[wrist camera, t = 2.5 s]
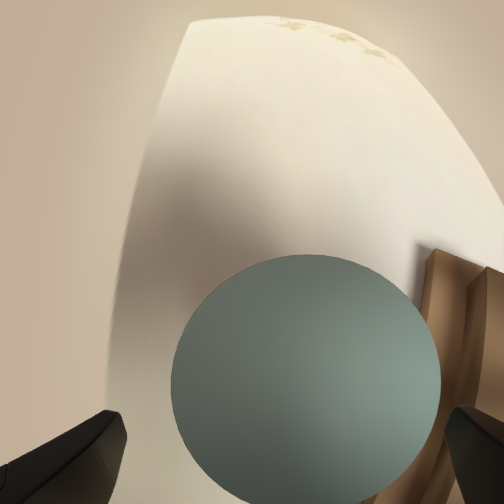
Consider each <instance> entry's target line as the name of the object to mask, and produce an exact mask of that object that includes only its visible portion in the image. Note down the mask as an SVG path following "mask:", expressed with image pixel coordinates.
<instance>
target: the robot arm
mask: <svg viewBox="0 0 504 504" xmlns="http://www.w3.org/2000/svg"><path fill="white" fill-rule="evenodd" d="M444 435H445V439H446V442H447V446H448V450H449V454H450V458H451V462H452V466H453V470H454V473H455V477H456V480H457V483H458V485H459V488H460V491H461V494H462V497H463V500H464V503H465V504H504V422H502V421H500V420H498V419H496V418H494V417H492V416H490V415H488V414H486V413H484V412H482V411H480V410H478V409H476V408H474V407H472V406H471V405H469V404H462V405H458V406H455V407H454V408H453V410H452V412H451V414H450V416H449V419H448V421H447V423H446V425H445V428H444ZM126 442H127V432H126V429H125V426H124V423H123V420H122V417H121V415H120V413H119V412H116V411H111V410H103V411H101V412H100V413H98V414H96V415H95V416H93V417H92V418H90V419H88V420H86V421H84V422H83V423H81V424H79V425H77V426H76V427H74V428H72V429H70V430H69V431H67V432H65V433H64V434H61V435H60V436H58V437H56V438H54V439H53V440H51V441H49V442H47V443H45V444H43V445H41V446H40V447H38V448H36V449H34V450H32V451H30V452H28V453H26V454H24V455H22V456H21V457H19V458H17V459H15V460H13V461H11V462H9V463H8V464H5V465H3V466H1V467H0V504H108V503H109V500H110V498H111V495H112V493H113V490H114V487H115V484H116V481H117V477H118V473H119V469H120V465H121V461H122V457H123V453H124V449H125V446H126Z"/></svg>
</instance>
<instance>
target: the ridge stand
mask: <svg viewBox="0 0 504 504" xmlns="http://www.w3.org/2000/svg"><path fill="white" fill-rule="evenodd" d="M420 314H421V316H422V317H423V319H424V320H425V322H426V324H427V326H428V328H429V330H430V332H431V335H432V337H433V340H434V343H435V346H436V349H437V354H438V359H439V364H440V374H441V389H440V400H439V405H438V410H437V415H436V418H435V421H434V424H433V427H432V430H431V432H430V434H429V436H428V438H427V440H426V442H425V444H424V446H423V448H422V449H421V451H420V452H419V454H418V455H417V457H416V458H415V459H414V461H413V462H412V463H411V464H410V465H409V467H408V468H407V469H406V470H405V471H404V472H403V473H402V474H401V475H400V476H399V477H398V478H397V479H396V480H394V481H393V482H392V483H391V484H390V485H389V486H387V487H386V488H384V489H383V490H381V491H380V492H378V493H377V494H375V495H373V496H372V497H370V498H368V499H366V500H364V502H363V504H465V503H464V500H463V497H462V494H461V491H460V488H459V485H458V483H457V480H456V477H455V473H454V470H453V466H452V462H451V458H450V454H449V450H448V446H447V442H446V439H445V435H444V428H445V425H446V423H447V421H448V419H449V416H450V414H451V412H452V410H453V408H454V407H455V406H458V405H462V404H469V405H471V406H472V407H474V408H476V409H478V410H480V411H482V412H484V413H486V414H488V415H490V416H492V417H494V418H496V419H498V420H500V421H502V422H504V273H501V272H499V271H497V270H494V269H492V268H490V267H486V268H484V267H481V266H479V265H477V264H474V263H472V262H469V261H467V260H464V259H462V258H459V257H457V256H454V255H452V254H449V253H446V252H444V251H441V250H439V249H436V248H435V249H434V251H433V252H432V254H431V255H430V256H429V258H428V259H427V262H426V271H425V280H424V288H423V295H422V302H421V308H420Z"/></svg>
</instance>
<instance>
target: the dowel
mask: <svg viewBox="0 0 504 504" xmlns="http://www.w3.org/2000/svg"><path fill="white" fill-rule="evenodd" d="M440 389H441V374H440V364H439V359H438V354H437V349H436V346H435V343H434V340H433V337H432V335H431V332H430V330H429V328H428V326H427V324H426V322H425V320H424V319H423V317H422V316H421V314H420V313H419V311H418V310H417V308H416V307H415V306H414V304H413V303H412V302H411V301H410V300H409V298H408V297H407V296H406V295H405V294H404V293H403V292H402V291H401V290H399V289H398V288H397V287H396V286H395V285H394V284H393V283H391V282H390V281H388V280H387V279H386V278H384V277H383V276H381V275H380V274H378V273H376V272H374V271H372V270H371V269H369V268H367V267H364V266H362V265H359V264H357V263H354V262H351V261H348V260H344V259H341V258H336V257H330V256H324V255H292V256H286V257H280V258H275V259H272V260H268V261H265V262H261V263H259V264H256V265H254V266H252V267H249V268H247V269H245V270H243V271H241V272H240V273H238V274H236V275H234V276H233V277H231V278H229V279H228V280H227V281H225V282H224V283H223V284H221V285H220V286H219V287H217V288H216V289H215V290H214V291H213V292H212V293H211V294H210V295H209V296H208V297H207V298H206V299H205V300H204V301H203V303H202V304H201V305H200V306H199V308H198V309H197V310H196V311H195V313H194V314H193V316H192V317H191V319H190V321H189V322H188V324H187V325H186V327H185V329H184V332H183V334H182V336H181V338H180V341H179V343H178V346H177V350H176V353H175V356H174V361H173V367H172V374H171V398H172V406H173V412H174V416H175V420H176V423H177V427H178V430H179V432H180V434H181V437H182V439H183V441H184V443H185V445H186V447H187V449H188V450H189V452H190V453H191V455H192V457H193V458H194V460H195V461H196V462H197V464H198V465H199V466H200V467H201V468H202V469H203V471H204V472H205V473H206V474H207V475H208V476H209V477H210V478H211V479H212V480H214V481H215V482H216V483H217V484H218V485H219V486H221V487H222V488H223V489H225V490H226V491H228V492H229V493H231V494H233V495H234V496H236V497H238V498H239V499H241V500H243V501H246V502H248V503H250V504H357V503H359V502H361V501H364V500H366V499H368V498H370V497H372V496H373V495H375V494H377V493H378V492H380V491H381V490H383V489H384V488H386V487H387V486H389V485H390V484H391V483H392V482H393V481H394V480H396V479H397V478H398V477H399V476H400V475H401V474H402V473H403V472H404V471H405V470H406V469H407V468H408V467H409V465H410V464H411V463H412V462H413V461H414V459H415V458H416V457H417V455H418V454H419V452H420V451H421V449H422V448H423V446H424V444H425V442H426V440H427V438H428V436H429V434H430V432H431V430H432V427H433V424H434V421H435V418H436V415H437V410H438V405H439V400H440Z"/></svg>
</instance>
